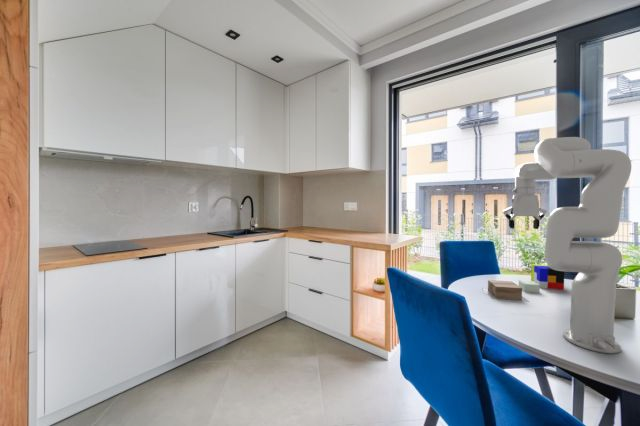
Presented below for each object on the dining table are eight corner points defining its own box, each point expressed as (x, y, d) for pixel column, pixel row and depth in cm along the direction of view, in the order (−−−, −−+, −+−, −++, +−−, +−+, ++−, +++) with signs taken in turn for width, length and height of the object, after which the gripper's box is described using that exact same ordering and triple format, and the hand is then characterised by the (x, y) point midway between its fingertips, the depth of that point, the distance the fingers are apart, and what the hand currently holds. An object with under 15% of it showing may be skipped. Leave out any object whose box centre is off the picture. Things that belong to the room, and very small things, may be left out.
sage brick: (539, 295, 125) (539, 284, 125) (524, 294, 126) (524, 284, 126) (532, 291, 131) (533, 281, 130) (518, 290, 132) (518, 280, 132)
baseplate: (529, 304, 114) (529, 301, 114) (492, 301, 118) (492, 298, 118) (514, 293, 127) (514, 290, 127) (481, 291, 131) (481, 288, 131)
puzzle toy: (539, 287, 135) (539, 268, 135) (531, 282, 145) (531, 263, 144) (563, 289, 132) (564, 269, 132) (553, 283, 142) (554, 265, 141)
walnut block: (521, 299, 116) (522, 288, 116) (495, 297, 119) (496, 286, 119) (511, 291, 126) (512, 281, 126) (487, 290, 129) (488, 280, 128)
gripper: (506, 192, 123) (506, 229, 124) (551, 191, 119) (550, 229, 119) (500, 192, 130) (499, 227, 131) (542, 191, 126) (541, 228, 127)
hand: (523, 228), depth 125 cm, fingers open, 9 cm apart
